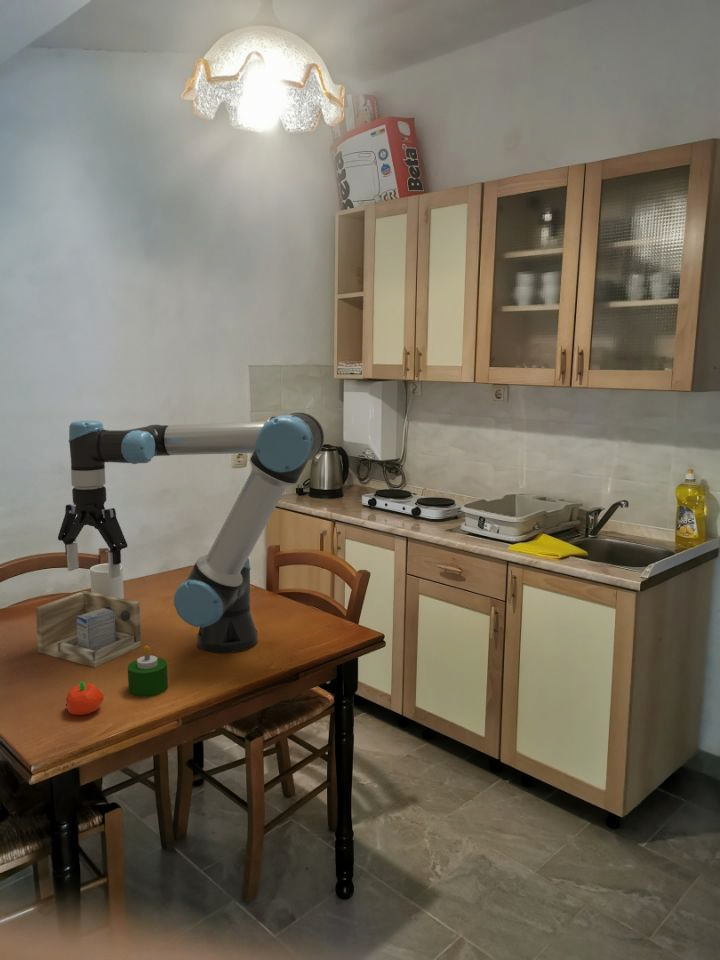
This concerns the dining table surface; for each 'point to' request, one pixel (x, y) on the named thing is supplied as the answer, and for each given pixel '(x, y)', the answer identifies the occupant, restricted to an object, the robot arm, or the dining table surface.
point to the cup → (106, 581)
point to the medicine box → (96, 629)
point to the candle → (147, 675)
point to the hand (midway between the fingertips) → (93, 573)
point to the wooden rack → (62, 627)
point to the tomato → (83, 699)
